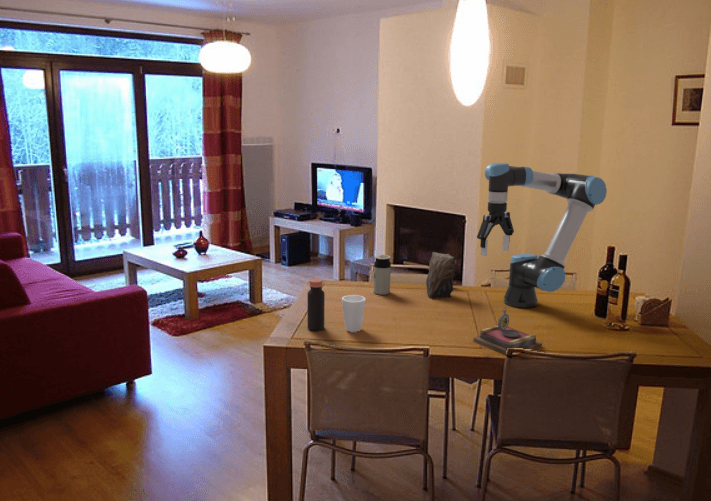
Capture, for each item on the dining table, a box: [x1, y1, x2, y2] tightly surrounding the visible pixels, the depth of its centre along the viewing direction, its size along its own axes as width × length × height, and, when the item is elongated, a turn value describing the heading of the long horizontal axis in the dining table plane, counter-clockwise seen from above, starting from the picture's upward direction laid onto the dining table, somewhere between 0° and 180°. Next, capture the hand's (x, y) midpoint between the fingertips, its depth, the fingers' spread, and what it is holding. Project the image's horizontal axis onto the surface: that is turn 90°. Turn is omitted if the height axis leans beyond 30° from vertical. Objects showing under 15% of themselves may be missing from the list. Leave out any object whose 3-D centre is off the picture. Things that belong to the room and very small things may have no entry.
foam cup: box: [341, 294, 367, 333], centre depth 238 cm, size 10×9×13 cm
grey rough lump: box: [425, 251, 456, 300], centre depth 285 cm, size 13×13×20 cm
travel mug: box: [373, 254, 392, 296], centre depth 287 cm, size 8×8×18 cm
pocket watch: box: [497, 307, 520, 337], centre depth 225 cm, size 8×8×10 cm
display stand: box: [472, 324, 543, 356], centre depth 226 cm, size 18×18×5 cm
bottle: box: [307, 278, 326, 332], centre depth 237 cm, size 7×7×20 cm
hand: (494, 252), depth 246 cm, fingers open, 13 cm apart
